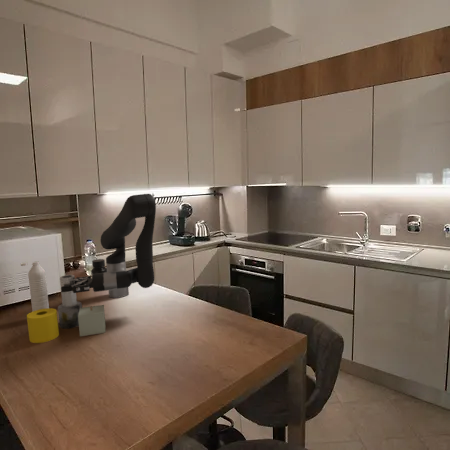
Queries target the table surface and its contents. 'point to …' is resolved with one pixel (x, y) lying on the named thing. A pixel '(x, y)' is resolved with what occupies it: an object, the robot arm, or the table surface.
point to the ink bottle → (98, 266)
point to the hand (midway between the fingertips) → (62, 286)
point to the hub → (69, 316)
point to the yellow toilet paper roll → (42, 325)
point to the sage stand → (91, 320)
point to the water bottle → (37, 286)
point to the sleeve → (68, 297)
